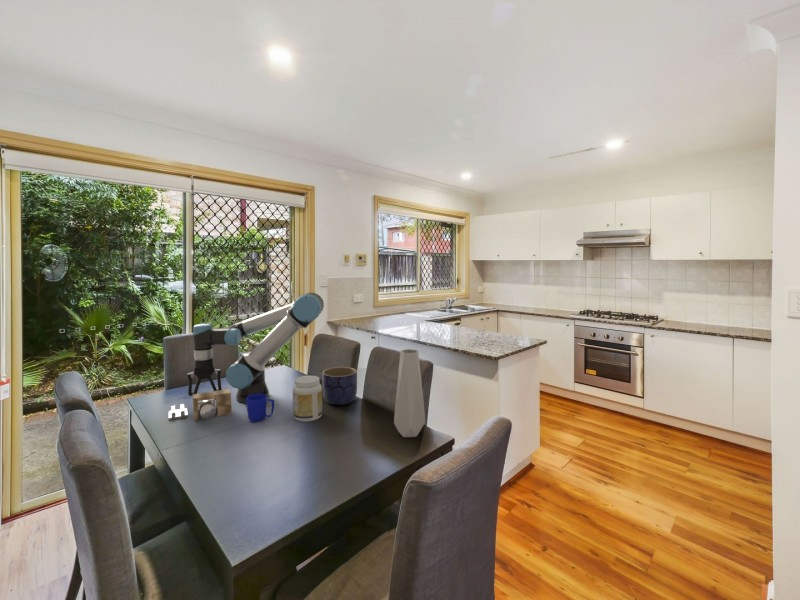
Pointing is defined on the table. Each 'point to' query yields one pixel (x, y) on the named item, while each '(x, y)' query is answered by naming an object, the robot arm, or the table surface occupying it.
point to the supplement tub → (307, 398)
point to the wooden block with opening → (221, 401)
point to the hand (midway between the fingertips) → (205, 408)
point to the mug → (258, 407)
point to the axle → (207, 409)
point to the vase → (409, 395)
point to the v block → (178, 412)
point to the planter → (339, 385)
